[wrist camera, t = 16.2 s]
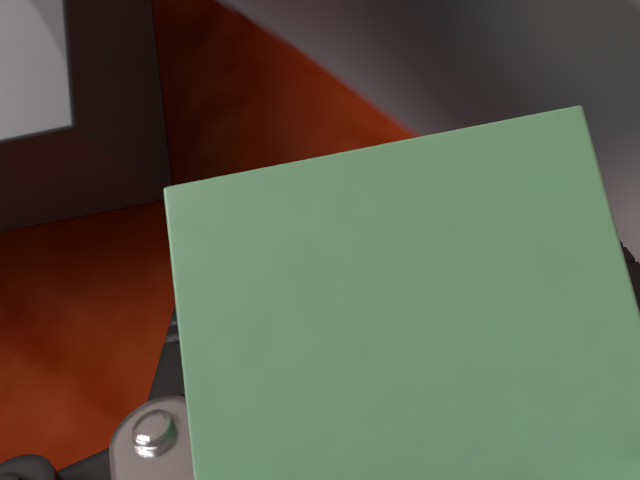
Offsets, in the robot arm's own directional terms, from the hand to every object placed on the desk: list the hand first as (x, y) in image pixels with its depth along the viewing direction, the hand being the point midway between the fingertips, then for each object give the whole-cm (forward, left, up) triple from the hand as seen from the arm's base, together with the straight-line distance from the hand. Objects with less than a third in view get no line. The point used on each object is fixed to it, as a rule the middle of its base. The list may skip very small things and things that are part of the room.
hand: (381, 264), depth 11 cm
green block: (0, -2, -3) cm, 4 cm away
